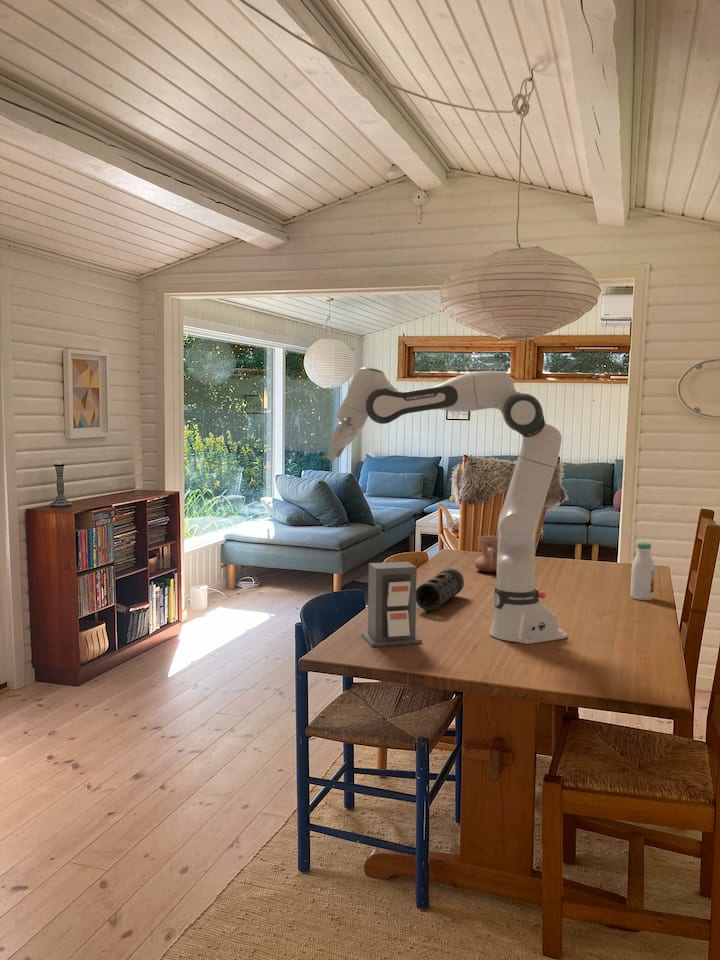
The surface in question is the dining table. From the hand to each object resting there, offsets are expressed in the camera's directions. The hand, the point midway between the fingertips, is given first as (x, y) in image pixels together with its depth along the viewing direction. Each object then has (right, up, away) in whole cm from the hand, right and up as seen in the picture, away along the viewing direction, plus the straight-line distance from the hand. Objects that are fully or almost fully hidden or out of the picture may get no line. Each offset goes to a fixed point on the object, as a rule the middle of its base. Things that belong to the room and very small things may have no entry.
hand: (333, 458), depth 238 cm
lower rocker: (+19, -51, -19) cm, 57 cm away
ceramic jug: (+63, -45, +85) cm, 115 cm away
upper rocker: (+19, -42, -18) cm, 49 cm away
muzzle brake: (+36, -50, +31) cm, 69 cm away
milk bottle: (+110, -49, +42) cm, 127 cm away
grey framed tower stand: (+17, -53, -12) cm, 57 cm away
